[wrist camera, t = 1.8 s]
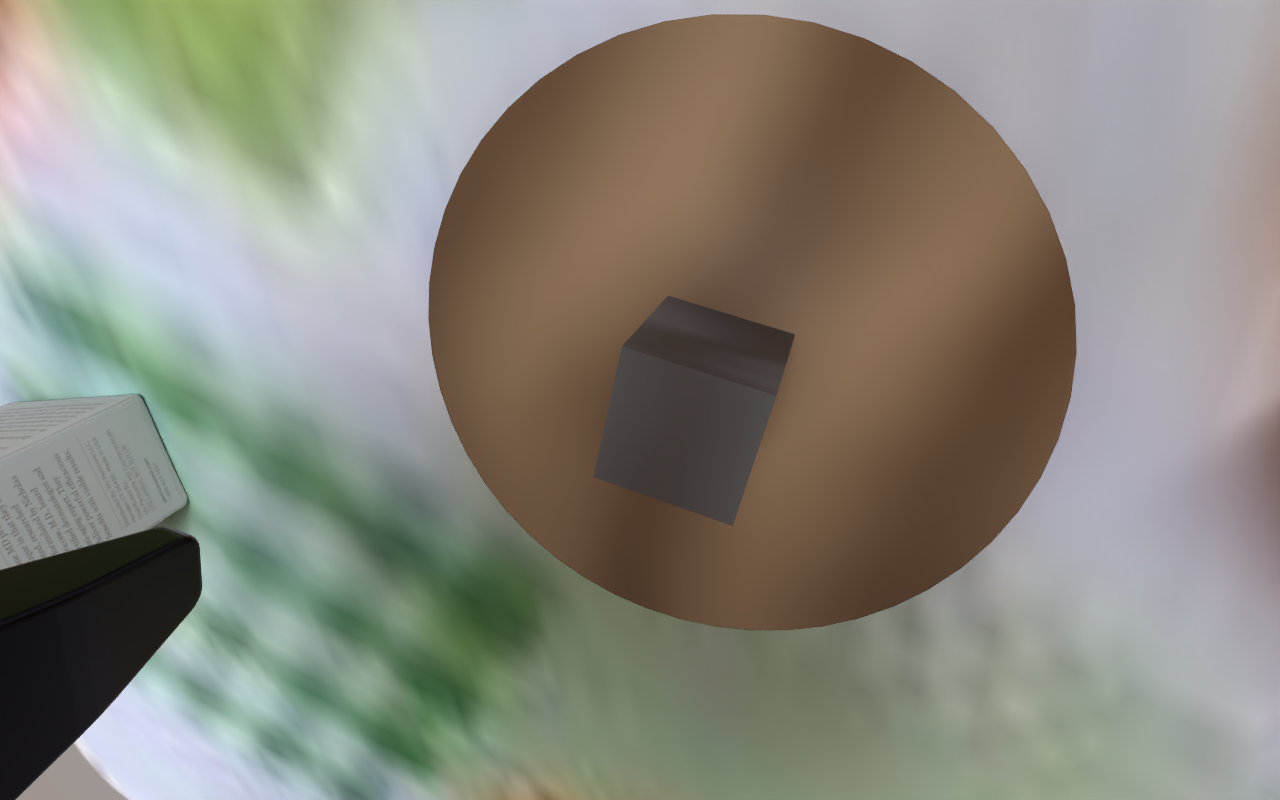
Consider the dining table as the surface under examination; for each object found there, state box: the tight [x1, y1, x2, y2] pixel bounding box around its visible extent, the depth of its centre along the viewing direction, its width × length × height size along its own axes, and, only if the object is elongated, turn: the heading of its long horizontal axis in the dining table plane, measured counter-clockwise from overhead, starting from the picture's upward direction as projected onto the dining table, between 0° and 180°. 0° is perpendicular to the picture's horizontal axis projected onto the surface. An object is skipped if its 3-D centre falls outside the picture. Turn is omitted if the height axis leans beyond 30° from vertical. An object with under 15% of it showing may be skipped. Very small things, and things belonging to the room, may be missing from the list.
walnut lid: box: [429, 15, 1076, 630], centre depth 16 cm, size 15×15×4 cm
